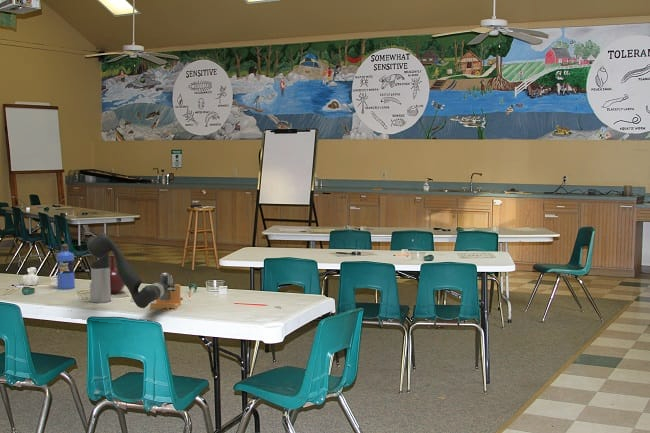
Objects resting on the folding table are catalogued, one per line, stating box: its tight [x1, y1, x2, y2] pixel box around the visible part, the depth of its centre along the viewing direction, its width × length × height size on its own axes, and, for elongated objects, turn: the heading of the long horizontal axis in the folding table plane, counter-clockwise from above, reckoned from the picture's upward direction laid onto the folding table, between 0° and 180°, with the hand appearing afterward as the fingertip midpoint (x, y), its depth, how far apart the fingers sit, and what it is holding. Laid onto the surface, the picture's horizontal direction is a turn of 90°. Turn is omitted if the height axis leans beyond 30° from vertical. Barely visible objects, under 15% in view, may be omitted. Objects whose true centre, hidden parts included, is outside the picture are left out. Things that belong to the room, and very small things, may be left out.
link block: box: [159, 272, 171, 300], centre depth 395 cm, size 4×4×13 cm
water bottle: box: [55, 243, 76, 291], centre depth 450 cm, size 9×9×25 cm
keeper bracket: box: [149, 284, 182, 310], centre depth 396 cm, size 12×11×10 cm
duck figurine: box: [20, 266, 40, 286], centre depth 464 cm, size 12×8×11 cm
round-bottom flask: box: [109, 255, 126, 294], centre depth 434 cm, size 13×13×20 cm
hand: (166, 285), depth 398 cm, fingers closed on link block, 4 cm apart
